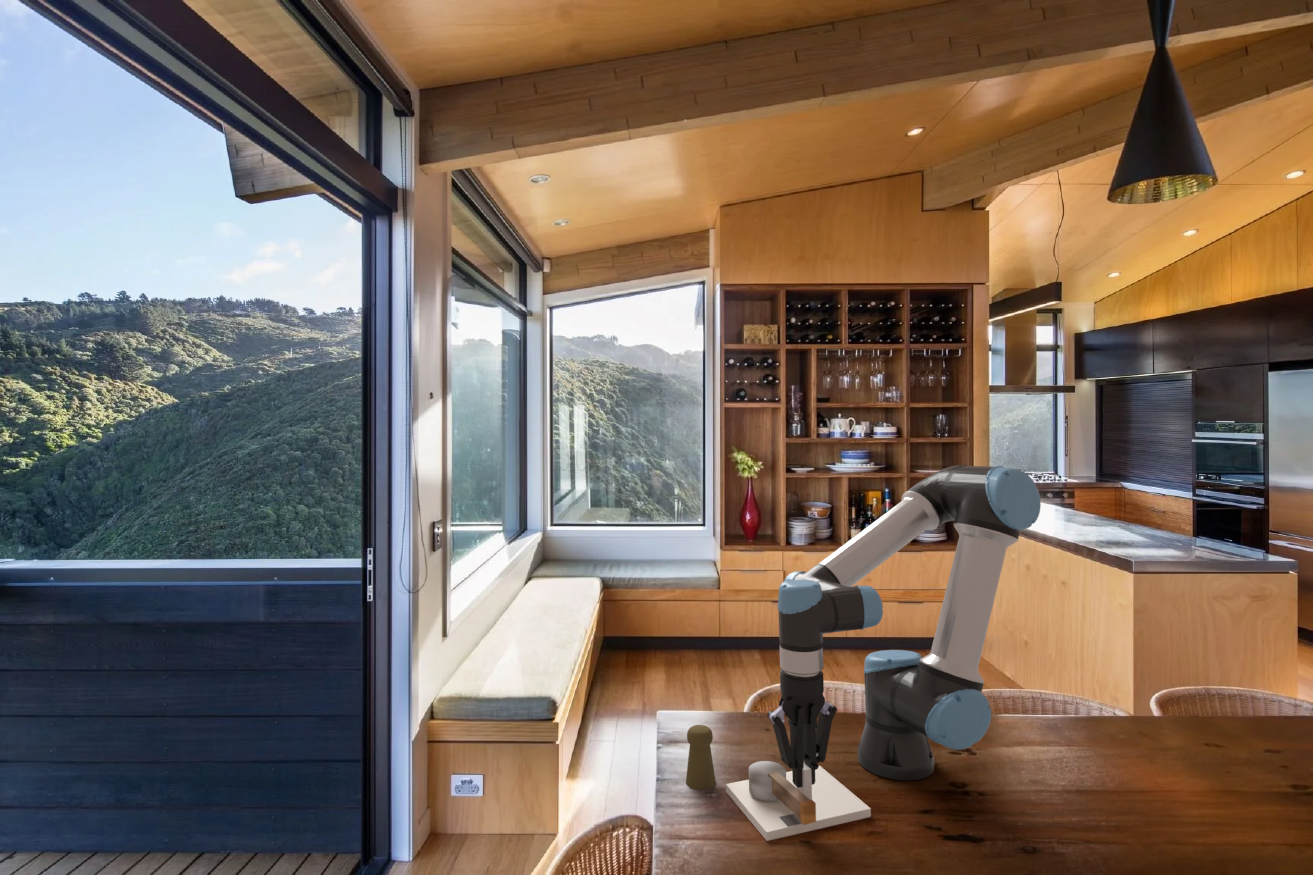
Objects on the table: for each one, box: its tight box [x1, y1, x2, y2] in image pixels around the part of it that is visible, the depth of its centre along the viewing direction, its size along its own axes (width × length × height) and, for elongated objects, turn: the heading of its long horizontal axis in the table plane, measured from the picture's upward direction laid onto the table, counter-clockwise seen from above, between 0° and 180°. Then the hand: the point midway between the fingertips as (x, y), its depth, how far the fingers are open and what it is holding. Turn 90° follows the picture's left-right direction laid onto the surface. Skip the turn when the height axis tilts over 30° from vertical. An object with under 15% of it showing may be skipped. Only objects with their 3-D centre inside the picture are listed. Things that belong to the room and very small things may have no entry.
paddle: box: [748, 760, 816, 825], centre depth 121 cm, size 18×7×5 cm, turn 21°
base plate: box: [725, 765, 872, 842], centre depth 125 cm, size 21×17×2 cm
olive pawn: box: [685, 724, 717, 791], centre depth 134 cm, size 6×6×11 cm
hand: (804, 802), depth 118 cm, fingers closed
